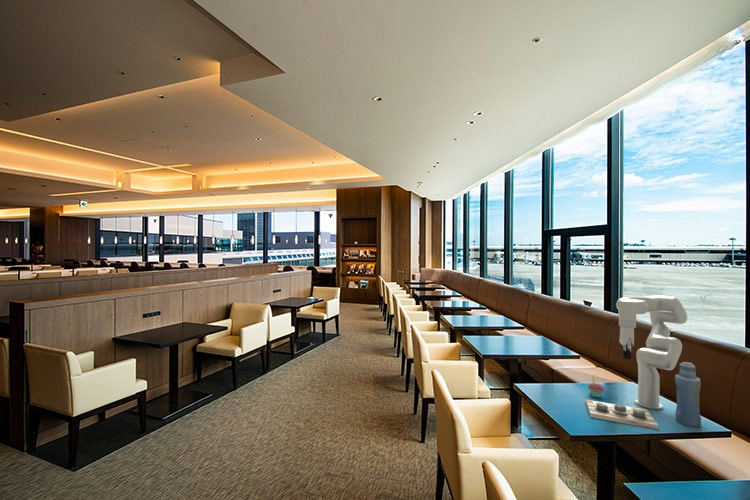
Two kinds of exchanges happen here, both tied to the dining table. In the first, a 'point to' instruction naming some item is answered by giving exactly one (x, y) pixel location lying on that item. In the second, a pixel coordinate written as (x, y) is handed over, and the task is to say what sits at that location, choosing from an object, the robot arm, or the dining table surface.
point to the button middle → (620, 408)
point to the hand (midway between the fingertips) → (627, 358)
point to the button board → (621, 416)
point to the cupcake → (596, 389)
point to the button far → (602, 407)
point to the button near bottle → (639, 413)
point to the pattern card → (613, 406)
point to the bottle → (688, 396)
